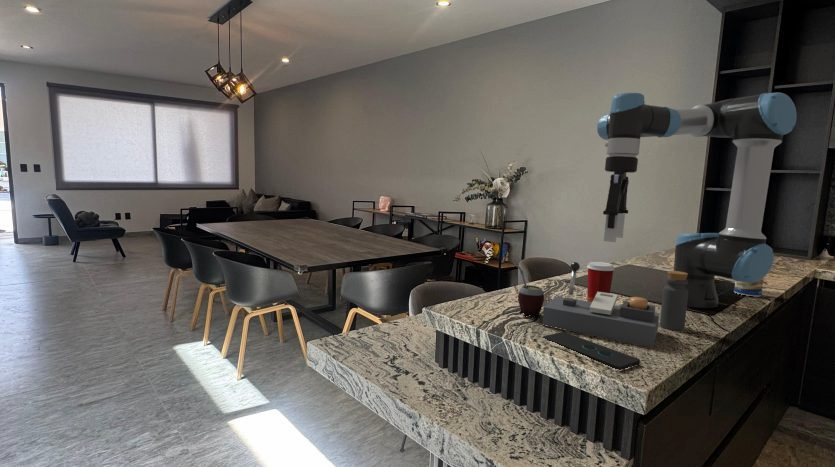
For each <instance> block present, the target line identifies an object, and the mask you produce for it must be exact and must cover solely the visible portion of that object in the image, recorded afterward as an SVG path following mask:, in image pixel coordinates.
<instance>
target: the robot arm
mask: <svg viewBox="0 0 835 467" xmlns="http://www.w3.org/2000/svg"><path fill="white" fill-rule="evenodd" d="M645 103H646V102H645V95H644V94H642V93H641V92H640V93H638V92H620V93H617V94H616V95H614V96H613V98H612V100H611V105H610V109H609V113H608V114H604V115H602V116H601V117H600V118H599V120H598V122H597V124H596V132H597V134H598V136H599V138H600V139H602V140H604V141H605V140H606V141H607V142H605V144H604V146H605V148H606V155H607V157H606V158H605V166H604V170H605V172H609V173H613V174H611V175H610V180H609V183H610V184H609V188H608V193H607V194H608V195H607V199H606V207H605V209H604V210H603V215H604V216H605V223H604V224H605V225H604V234H603V242H608V243H616V242H617V238H622V239H623V238H624V237H623V236H624V230H625V229H624V228H625V227H624V226H625V218H626V215H627V214H629V209H628V208H627V203H628V202H627V201H628V196H627V195H628V187H629V176H627V173H628V174H629V173H630V174H631V173H632V174H633V173H636V172H637V171H638V164H639V159H638V157H637V156H639V155H640V145H641V138H650V137H652V138H653V137H657V138H670V137H672V136H680V135H681V136H684V135H690V136H692V137H698V138H701V137H706V138H707V137H708V138H709V137H710V138H711V137H712V138H730V139H731V138H732V143H733V144H734V145H735V147H736V148H737V151H736V155H735V163H734V170H733V177H732V183H731V184H732V185H731V190H730V198H729V205H728V212H727V216H726V223H725V228H724V229H723V230H721V231H720V232H704V233H703V232H701V233H700V232H697V233H696V232H694V233H693V232H691V233H689V232H688V233H687V232H686V233H685V232H684V233H683V232H682V233H680V234H679V235H678V236H677V237H676V243H675V245H674V246H675V250H674V258H673V260H674V262H673V271H680V272H685V273H688V275H687V278H686V280H688V284H686V285H685V288H686V289H688V300H687V307H690V308H697V309H700V308H701V309H715V308H714V307H716V308H717V307H718V305H719V297H718V293H717V289H716V284H715V277H718V278H724V279H728V280H734V281H742V282H748V283H753V282H757V281H759V280H761V279H762V278H763V277H764V278H765V277H766V276H767V275H768V274H769V272H770V271H771V268H772V267H773V264H774V260H775V254H774V251H773V248H772V247H771V246H769V245H768V244H766V243H767V237H766V236H765V234H764V233H762V227H763V222H764V213H765V210H766V209H765V208H766V203H767V197H768V196H767V195H768V191H769V190H768V189H769V183H770V178H771V177H770V176H771V169H772V163H773V159H774V158H773V157H774V152H775V151H774V150H775V148H776V147H777V146H779V145H781V144H782V143H783V137H784V135H787V134H789V133H790V132H792V130H793V129H794V128H795V126H796V123H797V108H796V106H795V104H794V102H793V99H791V97H790V96H789V95H788V94H786V93H783V92H769V93H768V92H764V93H761V94H760V93H759V94H754V95H747V96H741V97H736V98H729V99H724V100H720V101H716V102H711V103H707V104H698V105H695V106H693V107H691V108H682V109H681V108H680V109H676V108H675V109H674V108H671V107H667V106H658V105H649V104H645Z"/></svg>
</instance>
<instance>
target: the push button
mask: <svg viewBox="0 0 835 467" xmlns="http://www.w3.org/2000/svg"><path fill="white" fill-rule="evenodd" d="M629 302H630V303H629V307H631V308H637V309H643V310H647V305H648V302H649V300H648V299H647V298H645V297H639V296H630V298H629Z"/></svg>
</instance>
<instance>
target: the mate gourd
mask: <svg viewBox="0 0 835 467" xmlns="http://www.w3.org/2000/svg"><path fill="white" fill-rule="evenodd" d="M512 263H513V264H514V265H515V267H517V269H518V270H519V273H520V275H521V278H522V282H523V285H522V287H521V288H520V289H519V291H518V294H517V300H518V304H519V309H520V311H519V314H521V313H524V314H522V317H523V316H525V317H526V316H529V315H531V316H529V317H533V316H535V317H534V318H537V317H540V318H541V315H540V314H541V313H542V312H541V311H542V308H543V306H544V305H543V304H544V302H545V301H544V300H545V294H544V293H545V292H544V291H543V289H542V288H541V287H540V286H536V285H527V282H526V279H525V276H524V270H523V269H522V268H521V266H520V265H518V264H516V263H515V262H512ZM526 318H527V317H526Z"/></svg>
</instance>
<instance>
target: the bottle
mask: <svg viewBox="0 0 835 467" xmlns="http://www.w3.org/2000/svg"><path fill="white" fill-rule="evenodd" d="M687 275H688V273H685V272H680V271H674V270H668V271H667V277H666V278H665V282H666V283H667V285H665V286H664V287H663V290H662V298H661V299H662V300H661V309H660V315H659V326H660V327H661V328H664V329H667V330H671V331H684V330H685V324H686V317H687V308H688V306H687V300H688V289H686V288H685V285H686V284H688V280H686V278H687Z"/></svg>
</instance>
